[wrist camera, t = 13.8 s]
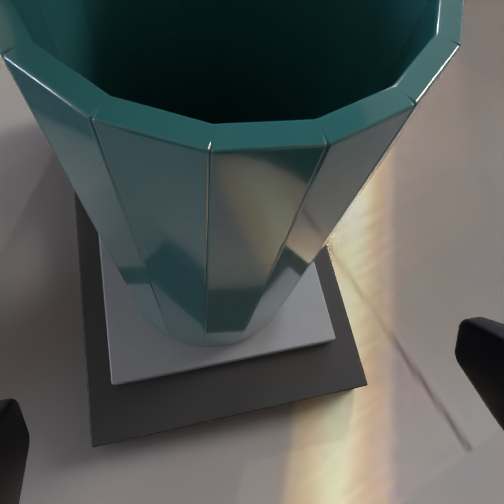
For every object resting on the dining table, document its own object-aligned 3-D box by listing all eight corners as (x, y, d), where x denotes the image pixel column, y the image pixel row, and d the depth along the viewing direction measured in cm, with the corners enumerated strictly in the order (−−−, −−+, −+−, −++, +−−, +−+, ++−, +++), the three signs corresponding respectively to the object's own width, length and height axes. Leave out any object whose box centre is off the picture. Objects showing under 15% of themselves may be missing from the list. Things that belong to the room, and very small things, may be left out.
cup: (320, 296, 18) (560, 39, 6) (176, 380, 16) (98, 250, 4) (240, 175, 20) (298, -209, 8) (102, 236, 18) (-101, -146, 6)
